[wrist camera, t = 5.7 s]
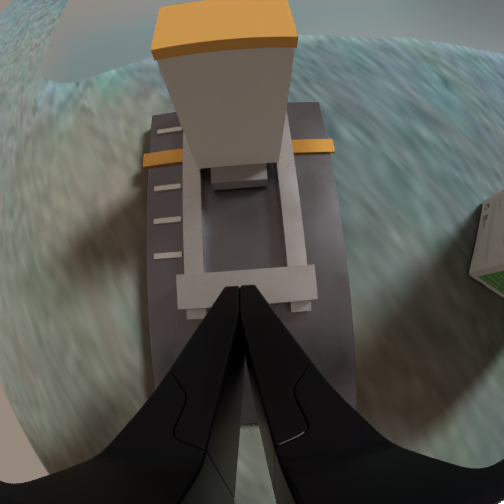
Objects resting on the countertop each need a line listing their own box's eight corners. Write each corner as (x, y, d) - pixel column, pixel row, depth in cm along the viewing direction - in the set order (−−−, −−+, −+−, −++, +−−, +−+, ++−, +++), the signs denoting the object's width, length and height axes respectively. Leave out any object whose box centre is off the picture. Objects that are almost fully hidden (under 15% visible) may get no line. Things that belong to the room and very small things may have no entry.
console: (355, 404, 16) (376, 422, 13) (160, 417, 16) (140, 438, 13) (320, 112, 20) (329, 79, 17) (152, 125, 20) (137, 95, 17)
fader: (280, 185, 18) (303, 54, 8) (200, 191, 18) (147, 68, 8) (272, 121, 18) (282, -15, 9) (199, 127, 18) (162, -4, 9)
